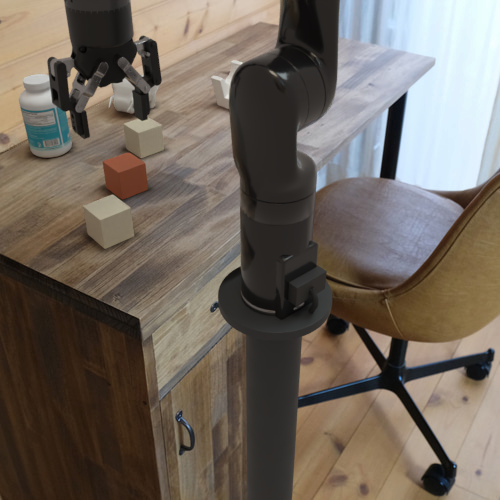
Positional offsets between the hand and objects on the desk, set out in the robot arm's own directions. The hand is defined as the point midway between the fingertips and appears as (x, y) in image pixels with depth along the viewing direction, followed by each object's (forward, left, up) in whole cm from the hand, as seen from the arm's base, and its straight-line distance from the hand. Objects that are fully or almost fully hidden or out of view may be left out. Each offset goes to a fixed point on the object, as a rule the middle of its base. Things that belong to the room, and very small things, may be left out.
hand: (113, 127), depth 84 cm
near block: (+3, +1, -18) cm, 18 cm away
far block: (+23, -18, -18) cm, 34 cm away
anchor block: (+13, -8, -18) cm, 23 cm away
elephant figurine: (+39, -26, -18) cm, 50 cm away
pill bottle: (+34, -5, -18) cm, 38 cm away
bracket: (+24, -44, -18) cm, 53 cm away
